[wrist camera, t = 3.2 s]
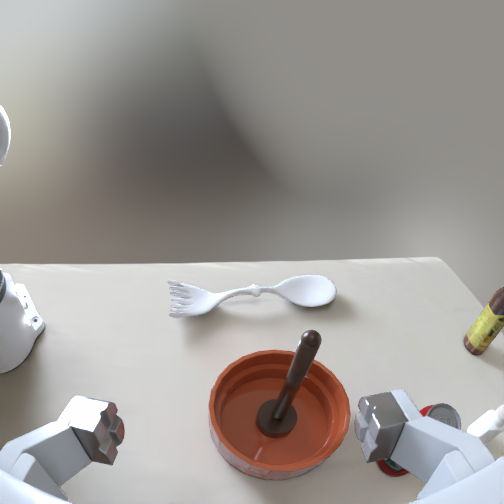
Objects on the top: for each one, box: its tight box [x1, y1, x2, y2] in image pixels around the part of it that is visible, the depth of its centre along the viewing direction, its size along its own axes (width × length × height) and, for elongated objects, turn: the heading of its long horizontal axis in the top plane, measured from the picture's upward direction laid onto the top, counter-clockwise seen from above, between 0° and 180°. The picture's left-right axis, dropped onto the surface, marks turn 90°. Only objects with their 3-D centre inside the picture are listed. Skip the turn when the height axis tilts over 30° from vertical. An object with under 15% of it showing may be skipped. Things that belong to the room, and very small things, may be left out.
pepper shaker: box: [467, 404, 504, 444], centre depth 27 cm, size 4×4×10 cm
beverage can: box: [378, 403, 461, 476], centre depth 26 cm, size 7×7×12 cm
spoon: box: [167, 275, 337, 318], centre depth 54 cm, size 9×32×4 cm, turn 104°
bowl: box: [209, 350, 351, 480], centre depth 33 cm, size 17×17×6 cm
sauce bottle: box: [464, 287, 504, 354], centre depth 42 cm, size 6×6×20 cm
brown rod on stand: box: [256, 330, 321, 438], centre depth 29 cm, size 5×5×19 cm
